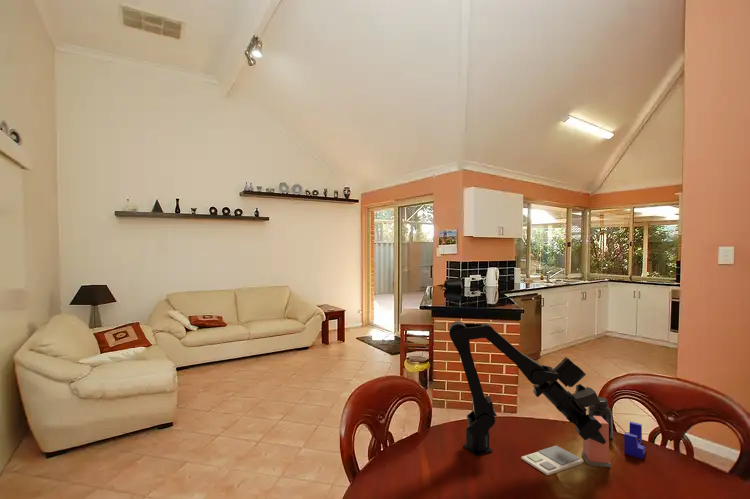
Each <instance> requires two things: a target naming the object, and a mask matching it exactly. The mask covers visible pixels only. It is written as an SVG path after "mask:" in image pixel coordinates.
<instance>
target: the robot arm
mask: <svg viewBox="0 0 750 499" xmlns="http://www.w3.org/2000/svg"><path fill="white" fill-rule="evenodd" d="M448 332H449V337H450V340H451V341H452V343H453V346H454V347H455V349H456V351H457V352H458V354H459V358H460V361H461V364H462V365H461V366H462V367H463V371H464V373H465V378H466V380H467V384H468V386H469V390H470V393H471V398H472V399H471V400H472V408H473V409H472V411H471V412H469V414H467V415H466V420H467V425H468V426H467V427H466V428H465V437H466V438H465V440H466V441H465V443H464V444H462V447H463V448H464V449H466V450H468V452H470V453H471V454H472V455H474V456H475V457H476V456H477V457H478V456H481V455H486V454H489V453H492V452H493V449H492V448H491V446H490V441H491V440H490V437H491V436H490V432H489V431H490V429H491V428H493V426H494V425H495V424H496V417H497V412H496V410H495V408H494V404H493V400H492V398H491V395H488V396H486V395H485V393H484V391H483V388H482V383H481V381H480V377H479V374H478V372H477V368H476V364H475V362H474V359H473V355H472V352H471V344H470V343H471V341H470V340H478V339H486V340H487V341H489V342H490V343H491V344H492V345H493V346H494V347H495V348H496V349H498V350H499V351H500V352H501V353H502V354H503V355H504V356H506V357H507V358H508V359H509V360H510V361H511V362H512V363H514V364H515V365H516V367H517V368H518V370H520V371H521V373H522V374H523V375H524V377H526V379H527V380H528V381H529V382H530V383H531V384H532V386H533V391H532V392H533V394H534V395H535V397H537V398H539V397H540V396H541V395H543V396H544V397H545V398H546V399H547V400H548V401H549V402H550V403H551V404H552V405H553V406H554V407H555V408H556V410H558V412H559V413H560V414H562V416H564V417H565V418H566V420H568V421H569V423H570V424H571V423H572V424H574V430H575V431H576V432H577V434H578V435H579V436H580V437H581V438H582V440H583V439H584V440H587V439H589V438H590V439H592V440H595V441H597V442H599V443H601V444H605V443H606V441H605V439H604V438H603V436H602V435H601V433H600V432H599V429H600V428H601V427H602V425H601V424H600V423H599V422H598V421H597V420H596V419H595V418H594V417H593V416H592V415H588V413H587V412H588V407H589V406H592V405H594V404H599V403H600V400H599V398H598V397H599V396H598V394H597V392H596V391H595V390H594V389H593V388H592V387H589V386H586V387H585V386H584V385H582V384H581V383H579V382H580V380H582V379H583V378H584V377H585V376H587V373H585V372H584V371H583V370H582V369H581V367H579V366H578V365H577V364H575V363H574V362H573V361H572V360H571V359H570V358H568V356H567V357H566V356H565V357H564V358H563V359H562V360H561V362H559V363H558V365H556V366H555V367H554V368H553V367H552V366H549V365H544V364H540V363H539V362H538V361H536V360H535V359H534V358H532V357H530V356H528V355H527V354H524V353H522V352H521V351H519V349H518V348H516V347H515V346H514V345H513V344H512V343H510V342H509V341H508V340H507V339H506V338H505V337H504V336H503V335H501V334H500V333H499V332H498V331H496V330H495V329H494V328H493V326H492V325H490V323H488V322H487V323H486V322H484V323H464V322H462V321H460V320H457V321H453V322H451V323H450V325H449V327H448ZM558 380H559V382H558ZM560 382H561V384H562V385H561V384H560ZM577 383H578V384H577ZM563 386H564V387H563ZM574 386H575V391H574V392H573V393H571V392H570V391H569V390H567V389H565V387H569V388H573V387H574Z"/></svg>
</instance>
